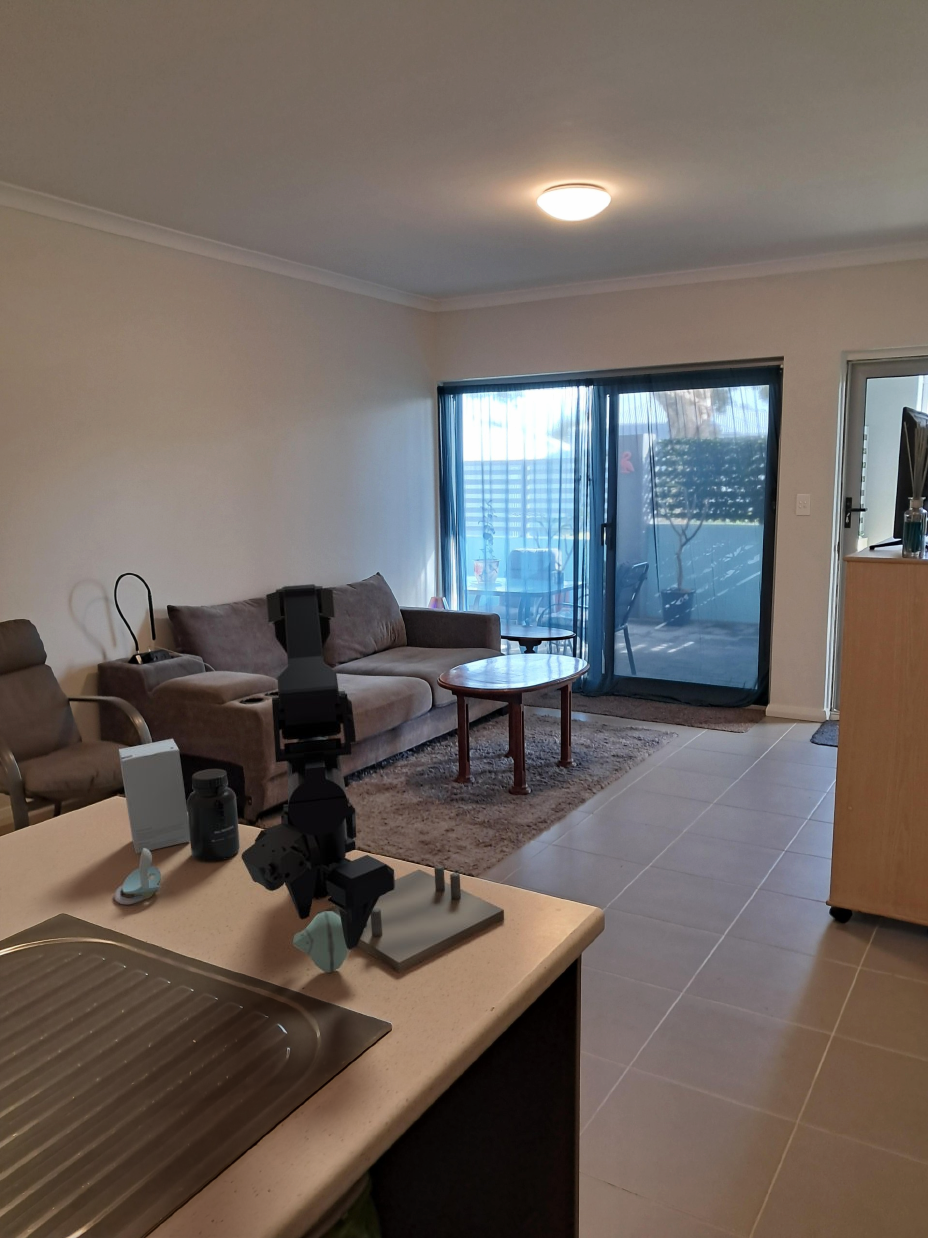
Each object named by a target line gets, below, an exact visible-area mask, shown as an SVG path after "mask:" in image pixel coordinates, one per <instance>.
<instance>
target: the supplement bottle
mask: <svg viewBox="0 0 928 1238" xmlns="http://www.w3.org/2000/svg"><path fill="white" fill-rule="evenodd" d="M227 775H228V773H227V771H226V770H224V769H221V768H210V769H209V768H208V769H204V770H200V771H196V772H195V773H194V774H192V776H191V781H192V785H191V788H192V790H193V792H191V793H190V794H189V796H188V797H187V800H186V807H187V815H188V822H189V833H190V841H189V843H190V851H191V856H192V857H193V858H194V859H195V860H196V861H199V862H205V863H213V862H214V863H215V862H220V861H225V860H228V859H230V858H231V857H234V856H235V855H236V854H237V853H238V852H239V850H240V844H241V843H240V832H239V819H238V808H237V807H238V806H237V796H236V793H235V792H234V790H233V789H232V788H230V787H228V785H229V781H228V776H227Z"/></svg>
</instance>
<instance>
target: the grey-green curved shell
mask: <svg viewBox="0 0 928 1238" xmlns="http://www.w3.org/2000/svg"><path fill="white" fill-rule="evenodd" d="M323 911H324V910H323ZM318 913H319V912H318ZM318 913H317V914H316V915H315V916H314V918H313V919H312V920H311V922H309V924H308V925H307V926H306V927H305V928H304V929H303V930H302V931H301V930H300V931H299V932H296V933H294V936H293V941H292V945H293V946H294V948H295V947H296V948H297V949H298V950H300V951H302V952H303V953H305V954H307V955H308V956H309V957H310V958H311V961H312V962H313V964H314V966H315V967H317V969H319V970H321V971H322V972H326V973H333V972H335V971H337V970H338V969H340V968H341V967H342V965H343V963H345V961H346V958H347V956H348V953H349V951H350V950H349V949H348V948H347V947H346V943H345V939H344V934H343V929H342V923H341V917H340V916H339V915H337V914H336V913H334V912H333V911H324V912H322V913H319V914H318ZM365 930H366V929H365V928H364V931H365ZM364 931H363V932H364Z"/></svg>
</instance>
